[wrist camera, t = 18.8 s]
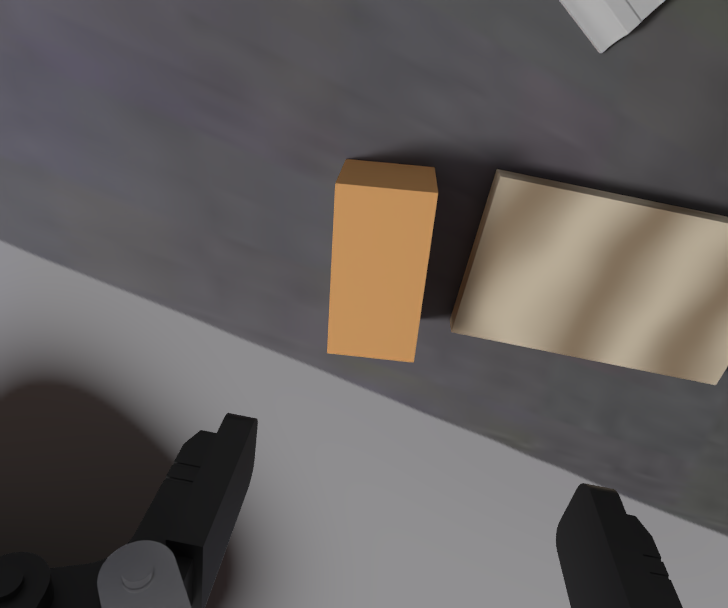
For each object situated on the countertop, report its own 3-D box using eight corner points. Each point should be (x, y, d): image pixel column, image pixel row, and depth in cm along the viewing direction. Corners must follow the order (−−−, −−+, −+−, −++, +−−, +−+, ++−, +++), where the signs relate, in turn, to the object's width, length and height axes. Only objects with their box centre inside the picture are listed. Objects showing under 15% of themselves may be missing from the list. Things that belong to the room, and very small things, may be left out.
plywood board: (791, 230, 30) (809, 240, 29) (704, 370, 35) (715, 385, 34) (496, 168, 30) (500, 176, 28) (449, 319, 35) (451, 331, 33)
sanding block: (434, 166, 30) (438, 193, 26) (413, 318, 35) (413, 362, 31) (346, 158, 30) (335, 183, 26) (337, 310, 35) (327, 353, 31)
